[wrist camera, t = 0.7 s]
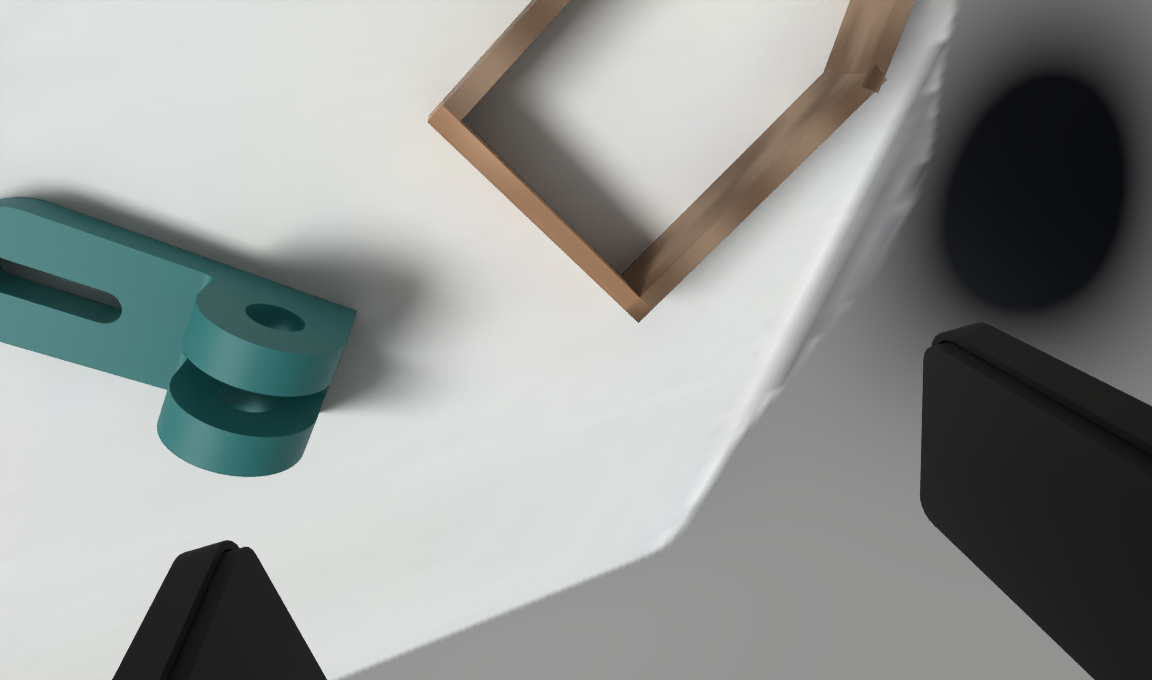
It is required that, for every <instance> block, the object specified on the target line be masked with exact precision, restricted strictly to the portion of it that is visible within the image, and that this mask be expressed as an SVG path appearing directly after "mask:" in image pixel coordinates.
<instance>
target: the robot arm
mask: <svg viewBox="0 0 1152 680" xmlns="http://www.w3.org/2000/svg"><path fill="white" fill-rule="evenodd" d="M922 400H923V401H922V440H921V441H922V442H921V481H920V500H921V504H922V508H923V510H924V512H925V514H926V515H927V517H928V519H929V520H930V521H931V522H932V523H933V524H934V526H935V527H937V528H938V529H939V530H940V531H941V532H942V533H943V534H944V535H945V536H946V537H947V538H948V539H949V540H950V541H951V542H952V543H953V544H954V545H955V546H956V547H957V548H958V549H959V550H960V551H962V553H964V554H965V555H966V556H967V557H968V558H969V559H970V560H971V561H972V562H973V563H974V564H975V565H976V566H977V567H978V568H979V569H980V570H981V571H982V572H983V573H984V574H985V575H986V576H987V577H989V578H990V579H991V580H992V581H993V582H994V583H995V584H996V585H997V586H998V587H999V588H1000V589H1001V590H1002V591H1003V592H1004V593H1005V594H1006V595H1007V596H1008V597H1009V598H1010V599H1011V600H1012V601H1013V602H1014V603H1016V604H1017V605H1018V606H1019V607H1020V608H1021V609H1022V610H1023V611H1024V612H1025V613H1026V614H1027V615H1028V616H1029V617H1030V618H1031V619H1032V620H1033V621H1034V622H1035V623H1036V624H1037V625H1038V626H1039V627H1041V629H1042V630H1044V631H1045V632H1046V633H1047V634H1048V635H1049V636H1050V637H1051V638H1052V639H1053V640H1054V641H1055V642H1056V643H1057V644H1058V645H1059V646H1060V647H1061V648H1062V649H1063V650H1064V651H1065V652H1066V653H1068V655H1070V656H1071V657H1072V658H1073V659H1074V660H1075V661H1076V662H1077V663H1078V664H1079V665H1080V666H1081V667H1082V668H1083V669H1084V670H1085V671H1086V672H1087V673H1088V674H1089V675H1090V676H1091V677H1092V678H1094V680H1152V406H1150V405H1148V404H1146V403H1144V402H1142V401H1140V400H1138V399H1136V398H1134V397H1132V396H1130V395H1128V394H1126V393H1124V392H1122V391H1120V390H1118V389H1116V388H1114V387H1112V386H1110V385H1108V384H1106V383H1104V382H1102V381H1100V380H1098V379H1096V378H1094V377H1092V376H1090V375H1088V374H1086V373H1084V372H1082V371H1080V370H1078V369H1076V368H1074V367H1072V366H1070V365H1068V364H1066V363H1064V362H1062V361H1060V360H1058V359H1056V358H1054V357H1052V356H1050V355H1048V354H1046V353H1044V352H1042V351H1040V350H1038V349H1036V348H1034V347H1032V346H1030V345H1028V344H1026V343H1024V342H1022V341H1020V340H1018V339H1016V338H1014V337H1012V336H1010V335H1008V334H1006V333H1004V332H1002V331H1000V330H999V329H997V328H994V327H993V326H991V325H988V324H985V323H982V322H981V323H974V324H970V325H967V326H963V327H960V328H956V329H953V330H949V331H946V332H943V333H940V334H938V335H937V336H936V337H935V338H934V340H933V342H932V347H930V348H928V349H927V350H926V352H925V353H924V360H923V399H922ZM112 680H327V679H326V677H325V675H324V674H323V672H322V670H321V668H320V667H319V665H318V663H317V661H316V659H315V658H314V656H313V654H312V652H311V651H310V649H309V647H308V645H307V644H306V642H305V640H304V638H303V637H302V635H301V633H300V631H299V629H298V628H297V626H296V624H295V622H294V621H293V619H292V617H291V615H290V614H289V612H288V610H287V608H286V607H285V605H284V603H283V601H282V599H281V598H280V596H279V594H278V592H277V591H276V589H275V587H274V585H273V584H272V582H271V580H270V578H269V577H268V575H267V573H266V571H265V569H264V568H263V566H262V564H261V562H260V561H259V559H258V557H257V555H256V554H255V552H254V551H253V550H252V549H251V548H249V547H243V548H239V547H238V545H237V544H235V543H234V542H232V541H228V540H226V541H222V542H219V543H215V544H212V545H209V546H205V547H202V548H198V549H195V550H191V551H188V552H184V553H182V554H180V555H179V556H178V557H177V558H176V559H175V561H174V562H173V564H172V566H171V568H170V570H169V572H168V574H167V576H166V577H165V579H164V581H163V583H162V585H161V587H160V589H159V591H158V593H157V595H156V597H155V599H154V601H153V602H152V604H151V606H150V608H149V610H148V612H147V614H146V616H145V618H144V620H143V622H142V624H141V626H140V627H139V629H138V631H137V633H136V635H135V637H134V639H133V641H132V643H131V645H130V647H129V649H128V651H127V652H126V654H125V656H124V658H123V660H122V662H121V664H120V666H119V668H118V670H117V672H116V674H115V676H114V677H113V679H112Z"/></svg>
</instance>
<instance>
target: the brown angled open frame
mask: <svg viewBox="0 0 1152 680" xmlns="http://www.w3.org/2000/svg"><path fill="white" fill-rule="evenodd" d="M569 1H570V0H532V1H531V2H530V3H529V5H528V6H527V7H526V8H525V9H524V10H523V11H522V12H521V14H520V15H519V16H518V17H517V18H516V19H515V20H514V21H513V22H512V24H511V25H510V26H509V27H508V28H507V29H506V30H505V31H504V33H503V34H502V35H501V36H500V37H499V38H498V39H497V40H496V41H495V43H494V44H493V45H492V46H491V47H490V48H489V49H488V50H487V52H486V53H485V54H484V55H483V56H482V57H481V58H480V59H479V60H478V62H477V63H476V64H475V65H474V66H473V67H472V68H471V69H470V71H469V72H468V73H467V74H466V75H465V76H464V77H463V78H462V79H461V81H460V82H459V83H458V84H457V85H456V86H455V87H454V88H453V90H452V91H451V92H450V93H449V94H448V95H447V96H446V97H445V98H444V100H443V101H442V102H441V103H440V104H439V105H438V106H437V107H436V108H435V110H434V111H433V112H432V113H431V114H430V115H429V118H428V123H429V124H430V125H431V126H432V127H433V128H434V129H435V130H436V131H437V132H439V133H440V134H441V135H442V136H443V137H444V138H445V139H446V140H447V141H448V142H449V143H450V144H451V145H452V146H453V147H454V148H455V149H456V150H457V151H458V152H460V153H461V154H462V155H463V156H464V157H465V158H466V159H467V160H468V161H469V162H470V163H471V164H472V165H473V166H474V167H475V168H476V169H477V170H478V171H479V172H481V173H482V174H483V175H484V176H485V177H486V178H487V179H488V180H489V181H490V182H491V183H492V184H493V185H494V186H495V187H496V188H497V189H498V190H499V191H501V192H502V193H503V194H504V195H505V196H506V197H507V198H508V199H509V200H510V201H511V202H512V203H513V204H514V205H515V206H516V207H517V208H518V209H519V210H520V211H522V212H523V213H524V214H525V215H526V216H527V217H528V218H529V219H530V220H531V221H532V222H533V223H534V224H535V225H536V226H537V227H538V228H539V229H540V230H541V231H543V232H544V233H545V234H546V235H547V236H548V237H549V238H550V239H551V240H552V241H553V242H554V243H555V244H556V245H557V246H558V247H559V248H560V249H561V250H562V251H564V252H565V253H566V254H567V255H568V256H569V257H570V258H571V259H572V260H573V261H574V262H575V263H576V264H577V265H578V266H579V267H580V268H581V269H582V270H584V271H585V272H586V273H587V274H588V275H589V276H590V277H591V278H592V279H593V280H594V281H595V282H596V283H597V284H598V285H599V286H600V287H601V288H602V289H603V290H605V291H606V292H607V293H608V294H609V295H610V296H611V297H612V298H613V299H614V300H615V301H616V302H617V303H618V304H619V305H620V306H621V307H622V308H623V309H624V310H626V311H627V312H628V313H629V314H630V315H631V316H632V317H633V318H634V319H635V320H636V321H637V322H638V323H639V322H640V321H641V320H642V319H643V318H644V317H645V316H646V315H647V314H648V313H649V312H650V311H651V310H652V309H653V308H654V307H655V306H656V305H657V304H658V303H659V302H660V301H661V300H662V299H663V298H664V297H665V296H666V295H667V294H668V293H669V292H671V291H672V290H673V289H674V288H675V287H676V286H677V285H678V284H679V283H680V282H681V281H682V280H683V279H684V278H685V277H686V276H687V275H688V274H689V273H690V272H691V271H692V270H693V269H694V268H695V267H696V266H697V265H698V264H699V263H700V262H701V261H702V260H703V259H704V258H705V257H706V256H707V255H708V254H709V253H710V252H711V251H712V250H713V249H714V248H715V247H716V246H717V245H719V244H720V243H721V242H722V241H723V240H724V239H725V238H726V237H727V236H728V235H729V234H730V233H731V232H732V231H733V230H734V229H735V228H736V227H737V226H738V225H739V224H740V223H741V222H742V221H743V220H744V219H745V218H746V217H747V216H748V215H749V214H750V213H751V212H752V211H753V210H754V209H755V208H756V207H757V206H758V205H759V204H760V203H761V202H762V201H763V200H764V199H765V198H767V197H768V196H769V195H770V194H771V193H772V192H773V191H774V190H775V189H776V188H777V187H778V186H779V185H780V184H781V183H782V182H783V181H784V180H785V179H786V178H787V177H788V176H789V175H790V174H791V173H792V172H793V171H794V170H795V169H796V168H797V167H798V166H799V165H800V164H801V163H802V162H803V161H804V160H805V159H806V158H807V157H808V156H809V155H810V154H811V153H812V152H813V151H815V150H816V149H817V148H818V147H819V146H820V145H821V144H822V143H823V142H824V141H825V140H826V139H827V138H828V137H829V136H830V135H831V134H832V133H833V132H834V131H835V130H836V129H837V128H838V127H839V126H840V125H841V124H842V123H843V122H844V121H845V120H846V119H847V118H848V117H849V116H850V115H851V114H852V113H853V112H854V111H855V110H856V109H857V108H858V107H859V106H860V105H861V104H863V103H864V102H865V101H866V100H867V99H868V98H869V97H870V96H871V95H872V94H873V93H874V92H876V93H878V92H879V89H880V87H881V85H882V84H883V83H884V82H885V81H886V80H887V79H886V78H885V74H886V72H887V69H888V67H889V64H890V62H891V59H892V57H893V54H894V52H895V49H896V47H897V44H898V42H899V40H900V37H901V35H902V32H903V30H904V27H905V25H906V22H907V20H908V17H909V15H910V12H911V10H912V7H913V5H914V2H915V0H850V3H849V6H848V8H847V11H846V14H845V17H844V19H843V22H842V25H841V27H840V30H839V33H838V35H837V38H836V41H835V43H834V46H833V49H832V51H831V54H830V57H829V59H828V62H827V65H826V68H825V70H824V73H823V74H822V75H821V76H820V77H819V78H818V79H817V80H816V81H815V82H814V83H813V84H812V85H811V86H810V87H809V88H808V89H807V90H806V91H805V92H804V93H803V94H802V95H801V96H800V97H799V98H798V99H797V100H796V101H795V102H794V103H793V104H792V105H791V106H790V107H789V108H788V109H787V110H786V111H785V112H784V113H783V114H782V115H781V116H780V117H779V118H778V119H777V120H776V121H775V122H774V123H773V124H772V125H771V126H770V127H769V128H768V129H767V130H766V131H765V132H764V133H763V134H762V135H761V136H760V137H759V138H758V139H757V140H756V141H755V142H754V143H753V144H752V145H751V146H750V147H749V148H748V149H747V150H746V151H745V152H744V153H743V154H742V155H741V156H740V157H739V158H738V159H737V160H736V161H735V162H734V163H733V164H732V165H731V166H730V167H729V168H728V169H727V170H726V171H725V172H724V173H723V174H722V175H721V176H720V177H719V178H718V179H717V180H716V181H715V182H714V183H713V184H712V185H711V186H710V187H709V188H708V189H707V190H706V191H705V192H704V193H703V194H702V195H701V196H700V197H699V198H698V199H697V200H696V201H695V202H694V203H693V204H692V205H691V206H690V207H689V208H688V209H687V210H686V211H685V212H684V213H683V214H682V215H681V216H680V217H679V218H678V219H677V220H676V221H675V222H674V223H673V224H672V225H671V226H670V227H669V228H668V229H667V230H666V231H665V232H664V233H663V234H662V235H661V236H660V237H659V238H658V239H657V240H656V241H655V242H654V243H653V244H652V245H651V246H650V247H649V248H648V249H647V250H646V251H645V252H644V253H643V254H642V255H641V256H640V257H639V258H638V259H637V260H636V261H635V262H634V263H633V264H632V265H631V266H630V267H629V268H628V269H627V270H626V271H625V272H624V273H623V274H622V275H620V274H619V273H618V272H617V271H616V270H615V269H614V268H613V267H611V266H610V265H609V264H608V263H607V262H606V261H605V260H604V259H603V258H602V257H601V256H600V255H599V254H598V253H597V252H596V251H595V250H594V249H593V248H592V247H591V246H590V245H589V244H588V243H587V242H586V241H585V240H584V239H583V238H582V237H581V236H580V235H579V234H578V233H577V232H576V231H575V230H574V229H573V228H572V227H571V226H570V225H569V224H568V223H567V222H566V221H565V220H564V219H563V218H561V217H560V216H559V215H558V214H557V213H556V212H555V211H554V210H553V209H552V208H551V207H550V206H549V205H548V204H547V203H546V202H545V201H544V200H543V199H542V198H541V197H540V196H539V195H538V194H537V193H536V192H535V191H534V190H533V189H532V188H531V187H530V186H529V185H528V184H527V183H526V182H525V181H524V180H523V179H522V178H521V177H520V176H519V175H518V174H517V173H516V172H515V171H514V170H512V169H511V168H510V167H509V166H508V165H507V164H506V163H505V162H504V161H503V160H502V159H501V158H500V157H499V156H498V155H497V154H496V153H495V152H494V151H493V150H492V149H491V148H490V147H489V146H488V145H487V144H486V143H485V142H484V141H483V140H482V139H481V138H480V137H479V136H478V135H477V134H476V133H475V132H474V131H473V130H472V129H471V128H470V127H469V126H468V125H467V124H466V123H465V122H464V121H462V119H463V118H464V117H465V116H466V115H467V114H468V113H469V111H470V110H471V109H472V108H473V107H474V106H475V105H476V104H477V103H478V101H479V100H480V99H481V98H482V97H483V96H484V95H485V94H486V93H487V92H488V90H489V89H490V88H491V87H492V86H493V85H494V84H495V83H496V82H497V81H498V79H499V78H500V77H501V76H502V75H503V74H504V73H505V72H506V71H507V69H508V68H509V67H510V66H511V65H512V64H513V63H514V62H515V61H516V60H517V58H518V57H519V56H520V55H521V54H522V53H523V52H524V51H525V50H526V48H527V47H528V46H529V45H530V44H531V43H532V42H533V41H534V40H535V39H536V37H537V36H538V35H539V34H540V33H541V32H542V31H543V30H544V29H545V28H546V26H547V25H548V24H549V23H550V22H551V21H552V20H553V19H554V18H555V16H556V15H557V14H558V13H559V12H560V11H561V10H562V9H563V8H564V7H565V5H566V4H567V3H568V2H569Z"/></svg>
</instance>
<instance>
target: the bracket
mask: <svg viewBox="0 0 1152 680" xmlns="http://www.w3.org/2000/svg"><path fill="white" fill-rule="evenodd" d="M0 258H3V259H6V260H9V261H12V262H15V263H18V264H21V265H24V266H28V267H31V268H34V269H37V270H40V271H43V272H46V273H49V274H52V275H55V276H58V277H62V278H65V279H68V280H71V281H74V282H77V283H80V284H83V285H86V286H89V287H92V288H96V289H99V290H102V291H105V292H108V293H110V294H112V295H113V296H115V297H116V298H117V299H118V301H119V302H120V304H121V307H122V309H118V308H115V307H111V306H108V305H105V304H102V303H99V302H96V301H93V300H89V299H86V298H83V297H80V296H77V295H74V294H70V293H67V292H64V291H61V290H58V289H55V288H52V287H48V286H45V285H42V284H39V283H36V282H33V281H30V280H26V279H23V278H20V277H17V276H14V275H11V274H9V273H8V272H6V271H5V270H4V269H3V268H2V267H1V265H0V342H3V343H6V344H10V345H13V346H17V347H20V348H24V349H27V350H31V351H34V352H37V353H41V354H44V355H48V356H51V357H55V358H58V359H62V360H65V361H69V362H72V363H76V364H79V365H83V366H86V367H90V368H93V369H97V370H100V371H104V372H107V373H111V374H114V375H118V376H121V377H124V378H128V379H131V380H135V381H138V382H142V383H145V384H149V385H152V386H156V387H159V388H163V389H166V390H167V393H166V397H165V400H164V403H163V406H162V410H161V413H160V416H159V419H158V423H157V431H158V435H159V437H160V439H161V441H162V442H163V444H164V445H165V446H166V447H167V448H168V449H169V450H170V451H171V452H172V453H173V454H175V455H176V456H177V457H179V458H180V459H182V460H184V461H186V462H188V463H190V464H192V465H194V466H196V467H199V468H201V469H204V470H208V471H211V472H215V473H219V474H224V475H230V476H241V477H257V476H266V475H272V474H276V473H279V472H282V471H284V470H287V469H289V468H290V467H292V466H294V465H295V464H296V463H297V462H298V461H299V460H300V459H301V457H302V455H303V453H304V451H305V448H306V445H307V443H308V440H309V438H310V435H311V433H312V430H313V427H314V425H315V422H316V420H317V417H318V414H319V411H320V408H321V405H322V403H323V400H324V397H325V394H326V392H327V389H328V386H329V384H330V383H331V381H332V378H333V376H334V373H335V371H336V368H337V366H338V363H339V360H340V358H341V355H342V353H343V350H344V348H345V345H346V342H347V340H348V337H349V334H350V331H351V328H352V325H353V322H354V318H355V315H356V312H357V311H355V310H352V309H349V308H346V307H344V306H341V305H338V304H335V303H332V302H329V301H327V300H324V299H321V298H318V297H315V296H313V295H310V294H307V293H304V292H301V291H298V290H296V289H293V288H290V287H287V286H284V285H282V284H279V283H276V282H273V281H270V280H267V279H265V278H262V277H259V276H256V275H253V274H250V273H248V272H245V271H242V270H239V269H236V268H234V267H231V266H228V265H225V264H222V263H219V262H217V261H214V260H211V259H208V258H205V257H202V256H200V255H197V254H194V253H191V252H188V251H186V250H183V249H180V248H177V247H174V246H171V245H169V244H166V243H163V242H160V241H157V240H155V239H152V238H149V237H146V236H143V235H140V234H138V233H135V232H132V231H129V230H126V229H123V228H121V227H118V226H115V225H112V224H109V223H107V222H104V221H101V220H98V219H95V218H92V217H90V216H87V215H84V214H81V213H78V212H75V211H73V210H70V209H67V208H64V207H61V206H59V205H56V204H53V203H50V202H46V201H43V200H38V199H33V198H23V197H14V198H4V199H0Z"/></svg>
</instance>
